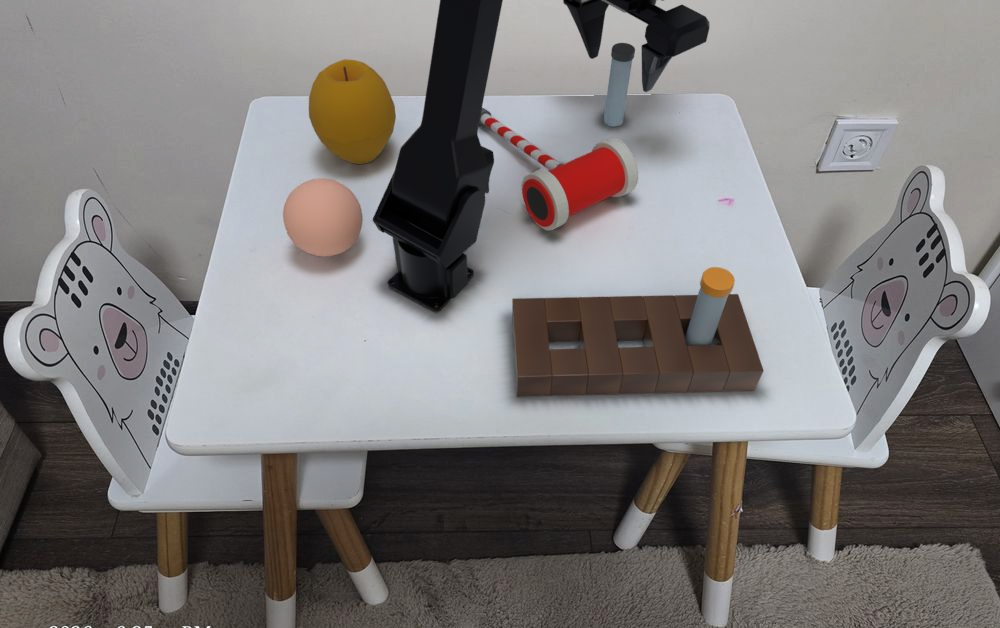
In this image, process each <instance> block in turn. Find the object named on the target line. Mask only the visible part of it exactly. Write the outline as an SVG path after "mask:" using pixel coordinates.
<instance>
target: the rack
mask: <svg viewBox="0 0 1000 628" xmlns="http://www.w3.org/2000/svg"><path fill="white" fill-rule="evenodd" d="M739 295H740V294H738V293H730V294H729V295H728V297H727V300H726V303H725V306H724V309H723V312H722V314H721V317H720V320H719V323H718V326H717V329H716V332H715V334H714V337H713V340H712V343H711V345H708V346H687V345H686V341H685V336H686V333H687V330H688V327H689V323H690V320H691V317H692V313H693V310H694V307H695V304H696V300H697V297H698V294H681V295H680V294H675V295H673V294H669V295H668V294H667V295H620V296H619V295H617V296H615V295H614V296H574V297H571V296H570V297H568V296H567V297H566V296H565V297H528V298H527V297H524V298H523V297H522V298H512V306H511V328H512V344H513V345H512V346H513V358H514V359H513V360H514V375H515V391H516V397H550V396H552V397H553V396H584V395H586V396H589V395H590V396H594V395H595V396H596V395H624V394H625V395H627V394H628V395H630V394H664V393H703V392H704V393H707V392H708V393H712V392H742V391H743V392H745V391H755V390H756V389H757V386H758V384H759V383H760V380H761V377H762V376H763V373H764V368H763V365H762V361H761V358H760V356H759V353H758V350H757V346H756V344H755V340H754V337H753V335H752V332H751V328H750V326H749V323H748V320H747V316H746V314H745V311H744V307H743V303H742V301H741V299H740V296H739ZM618 341H643V345H644V346H635V347H634V346H632V347H631V346H630V347H629V346H626V347H619V345H618ZM554 342H555V343H563V342H565V343H566V342H578V348H550V343H554Z"/></svg>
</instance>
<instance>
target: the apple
mask: <svg viewBox="0 0 1000 628" xmlns="http://www.w3.org/2000/svg"><path fill="white" fill-rule="evenodd" d="M308 118H309V120H310V124H311V126H312V129H313V131H314V132H315V134H316V136H317V138H318V140H319V141H320V142H321V143H322V144H323V145H324V146H325V148H327V150H328V151H329V152H330V153H331V154H333V155H335V156H336V157H337V158H339V159H341V160H343V161H346V162H348V163H351V164H356V165H363V164H369V163H371V162H372V161H374V160H375V159H377V158H378V157H379V155H380V154H381V153H382V152H383V150H384V149H385V147H386V146H387V144H388V142H389V141H390V138H391V137H392V134H393V133H394V129H395V124H396V118H397V116H396V106H395V103H394V100H393V98H392V95H391V92H390V91H389V88H388V85H387V83H386V82H385V80H384V79H383V77H382V76H380V74H378V72H377V71H376V70H375V69H374V68H372V67H371V66H370V65H369V64H366V63H365V62H363V61H359V60H356V59H346V58H345V59H342V60H338V61H336V62H333V63H331V64H330V65H328V66H327V67H325V68H324V69H322V70H321V71H320V72H318V74H317V75H316V77H315V79H314V81H313V82H312V86H311V89H310V92H309V96H308Z"/></svg>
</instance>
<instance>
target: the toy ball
mask: <svg viewBox="0 0 1000 628" xmlns="http://www.w3.org/2000/svg"><path fill="white" fill-rule="evenodd" d="M282 219H283V220H282V221H283V225H284V228H285V230H286V234H287V236H288V237H289V239H290V240H291V241H292V243H293V244H294V245H295V246H296V247H297V248H299V249H300V250H302V252H305V253H307V254H309V255H312V256H317V257H332V256H337V255H340V254H342V253H345V252H346V251H347V250H349V249H350V248H351V247H352V246H354V244H356V243H355V242H356V241H357V240H358V238H359V236H360V233H361V231H362V227H363V219H364V217H363V210H362V207H361V203H360V202H359V200H358V198H357V196H356V194H355V193H354V192H353V191H352V190H351V189H350V188H348V186H346V185H345V184H343V183H342V182H340V181H337V180H334V179H330V178H323V177H322V178H312V179H310V180H309V179H308V180H306V181H304V182H302V183H300V184H299V185H298V186H296V187H295V188H294V189H292V191H291V192H290V193H288V196H287V198H286V199H285V202H284V204H283V210H282Z"/></svg>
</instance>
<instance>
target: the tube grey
mask: <svg viewBox="0 0 1000 628" xmlns="http://www.w3.org/2000/svg"><path fill="white" fill-rule="evenodd" d="M635 53H636V48H635V46H633V45H632V44H630V43H628V42H617V43H615V44H613V45H612V47H611V52H610V57H611V63H610V71H609V77H608V85H607V91H606V92H607V93H606V99H605V107H604V115H603V122H604V124H605V125H606V126H607V127H613V128H614V127H619V126H621V125H622V124H623V122H624V117H625V116H624V115H625V110H626V102H627V98H628V90H629V83H630V77H631V71H632V64H633V60H634V58H635Z"/></svg>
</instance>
